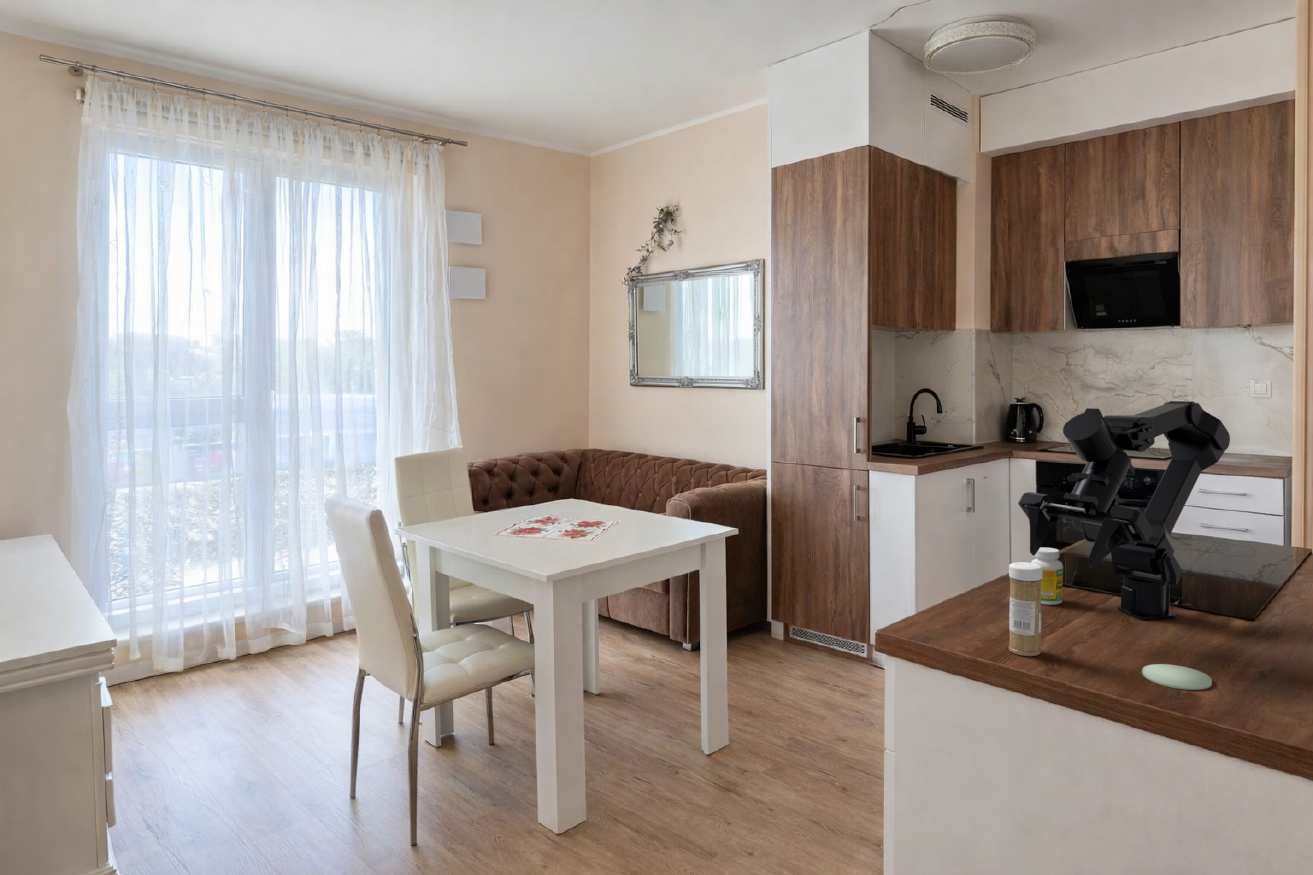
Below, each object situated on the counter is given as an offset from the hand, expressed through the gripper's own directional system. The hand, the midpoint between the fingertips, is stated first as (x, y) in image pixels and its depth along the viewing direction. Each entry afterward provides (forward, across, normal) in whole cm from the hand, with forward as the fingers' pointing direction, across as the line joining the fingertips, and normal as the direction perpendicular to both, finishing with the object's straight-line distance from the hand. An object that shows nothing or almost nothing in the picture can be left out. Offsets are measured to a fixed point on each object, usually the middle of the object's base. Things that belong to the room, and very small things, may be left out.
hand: (1060, 559), depth 124 cm
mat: (+10, -18, -8) cm, 22 cm away
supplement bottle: (-3, +14, -24) cm, 27 cm away
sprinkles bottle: (+15, +1, -4) cm, 15 cm away
